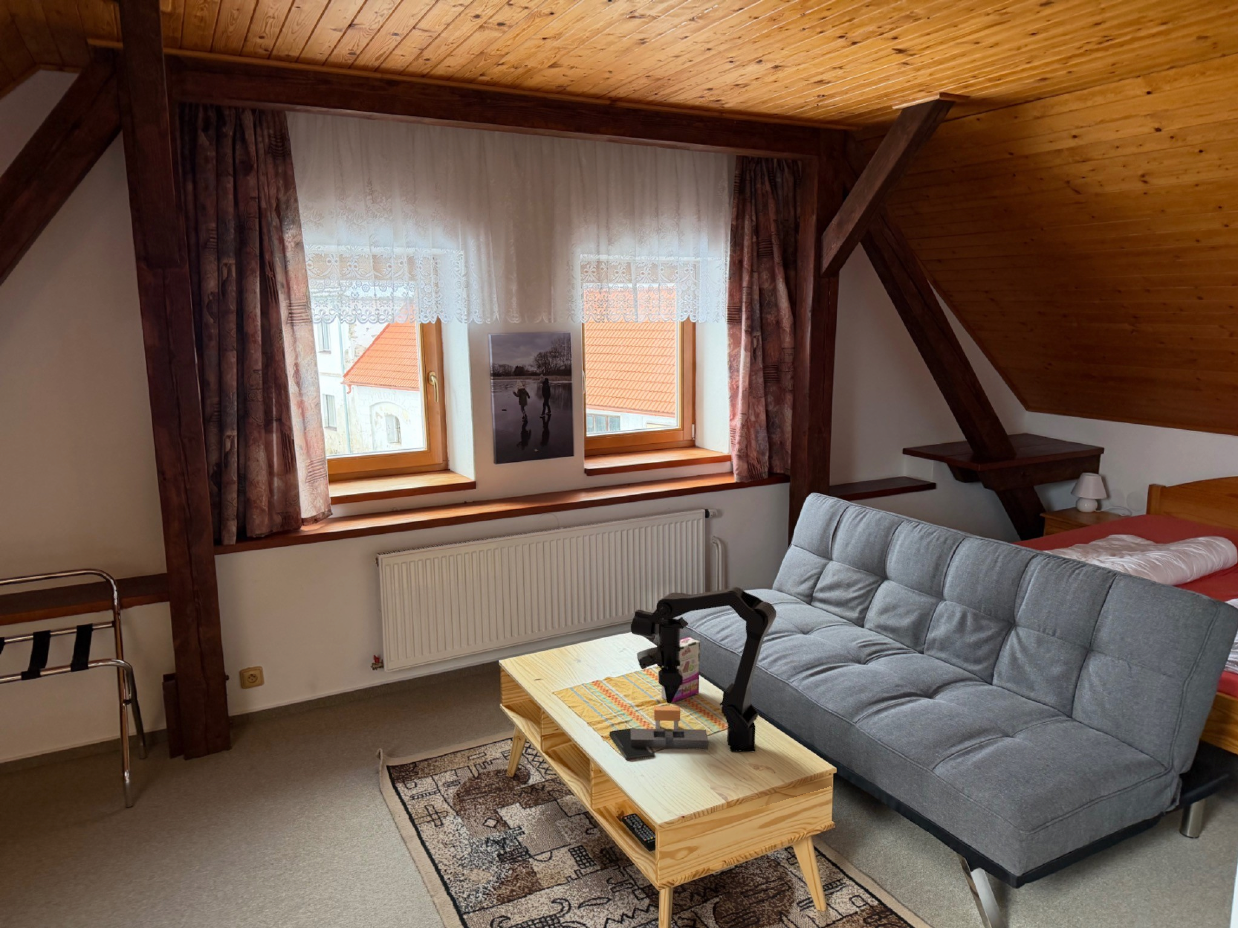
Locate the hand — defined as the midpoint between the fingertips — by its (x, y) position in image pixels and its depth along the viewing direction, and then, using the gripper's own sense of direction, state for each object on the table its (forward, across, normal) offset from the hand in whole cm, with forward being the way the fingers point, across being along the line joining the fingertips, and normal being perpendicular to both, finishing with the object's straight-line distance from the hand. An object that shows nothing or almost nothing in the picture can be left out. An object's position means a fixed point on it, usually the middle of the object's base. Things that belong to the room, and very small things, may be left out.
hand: (667, 695), depth 242 cm
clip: (+9, 0, 0) cm, 9 cm away
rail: (+9, +9, 0) cm, 13 cm away
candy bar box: (+10, -20, +5) cm, 23 cm away
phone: (+10, +10, -10) cm, 17 cm away
